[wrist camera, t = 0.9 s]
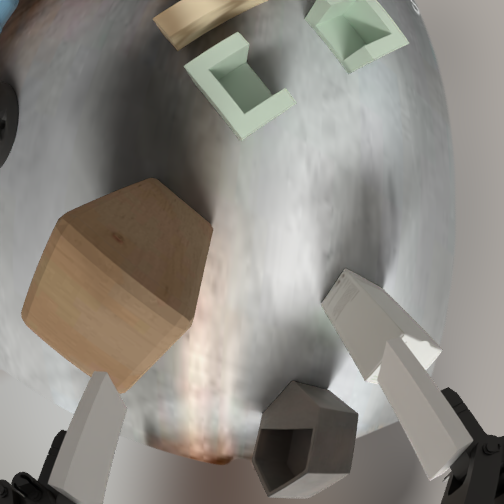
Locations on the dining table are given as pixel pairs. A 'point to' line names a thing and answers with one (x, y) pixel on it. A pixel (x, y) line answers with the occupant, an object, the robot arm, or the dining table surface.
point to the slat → (198, 18)
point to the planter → (304, 442)
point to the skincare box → (373, 324)
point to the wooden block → (120, 281)
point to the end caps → (270, 106)
